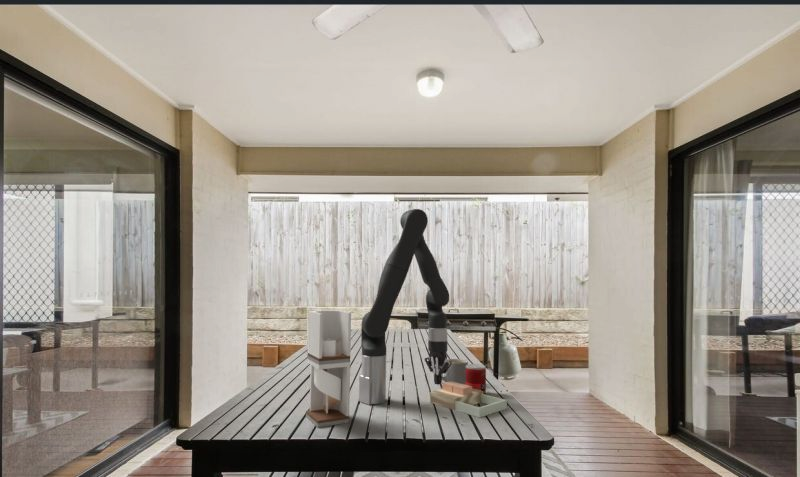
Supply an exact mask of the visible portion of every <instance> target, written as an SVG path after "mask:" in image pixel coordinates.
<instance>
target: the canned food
mask: <svg viewBox="0 0 800 477" xmlns="http://www.w3.org/2000/svg"><path fill="white" fill-rule="evenodd" d="M486 367H487V366H485V365H484V364H476V363H471V364H469V363H468V365H466V385H469V386H472V388H473V389H477V390H481V391H483V394H485V395H486V391H487V386H486V385H487V368H486Z"/></svg>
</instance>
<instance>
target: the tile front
mask: <svg viewBox="0 0 800 477" xmlns="http://www.w3.org/2000/svg"><path fill="white" fill-rule="evenodd" d="M453 393H456V394H460V395H467V394H471V393H472V386H469V385H465V384H458V385H454V386H453Z"/></svg>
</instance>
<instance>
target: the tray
mask: <svg viewBox="0 0 800 477" xmlns="http://www.w3.org/2000/svg"><path fill="white" fill-rule="evenodd" d="M507 402H508V401H507V399H504V398H501V397H496V396H493V395H488V394H486V393H485V394H481V403H482V404H486V405H483V406H475V405H469V404H465V403H462V402H458V401H455V410H454V411H457V412H460V413H464V414H467V415H470V416H473V417H477V418H483V417H485V416H488V414H489V415H491V414H494V413H495V414H496V413H497V412H501V411H504V410H507V407H508V405H507V404H508V403H507Z"/></svg>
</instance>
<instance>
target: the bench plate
mask: <svg viewBox="0 0 800 477" xmlns="http://www.w3.org/2000/svg"><path fill="white" fill-rule="evenodd" d="M429 393H430V394H429V395H430V398H429V399H430V400H429V401H430V402H429V403H430V404H433V405H437V406H440V407H443V408H446V409H449V410H453V411H456V410H455V401H458V402H462V403H465V404H469V405H472V406H475V405H477V404H481V403H482V402H481V394H483V391H481V390H477V389H473V388H472V393H471V394H467V395H460V394H456V393H453V392H449V391H445V390H442V388H440V389H436V390H432V391H430V392H429Z"/></svg>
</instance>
